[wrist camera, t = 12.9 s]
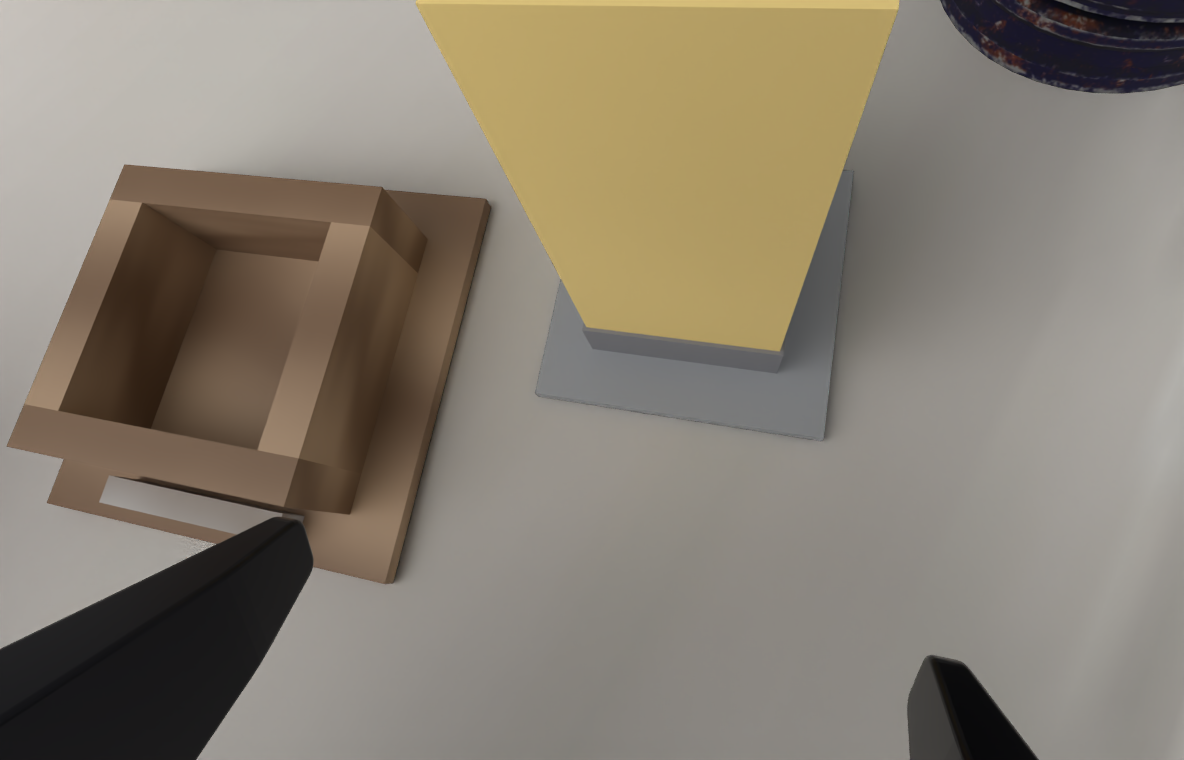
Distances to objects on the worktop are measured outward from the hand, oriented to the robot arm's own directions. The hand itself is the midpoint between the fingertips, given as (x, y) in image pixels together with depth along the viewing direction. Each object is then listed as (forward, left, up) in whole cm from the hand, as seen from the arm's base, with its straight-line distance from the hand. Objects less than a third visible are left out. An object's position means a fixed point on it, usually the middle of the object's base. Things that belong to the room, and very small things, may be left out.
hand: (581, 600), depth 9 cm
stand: (+8, 0, -8) cm, 12 cm away
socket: (+4, +13, -8) cm, 16 cm away
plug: (+9, 0, -8) cm, 12 cm away
